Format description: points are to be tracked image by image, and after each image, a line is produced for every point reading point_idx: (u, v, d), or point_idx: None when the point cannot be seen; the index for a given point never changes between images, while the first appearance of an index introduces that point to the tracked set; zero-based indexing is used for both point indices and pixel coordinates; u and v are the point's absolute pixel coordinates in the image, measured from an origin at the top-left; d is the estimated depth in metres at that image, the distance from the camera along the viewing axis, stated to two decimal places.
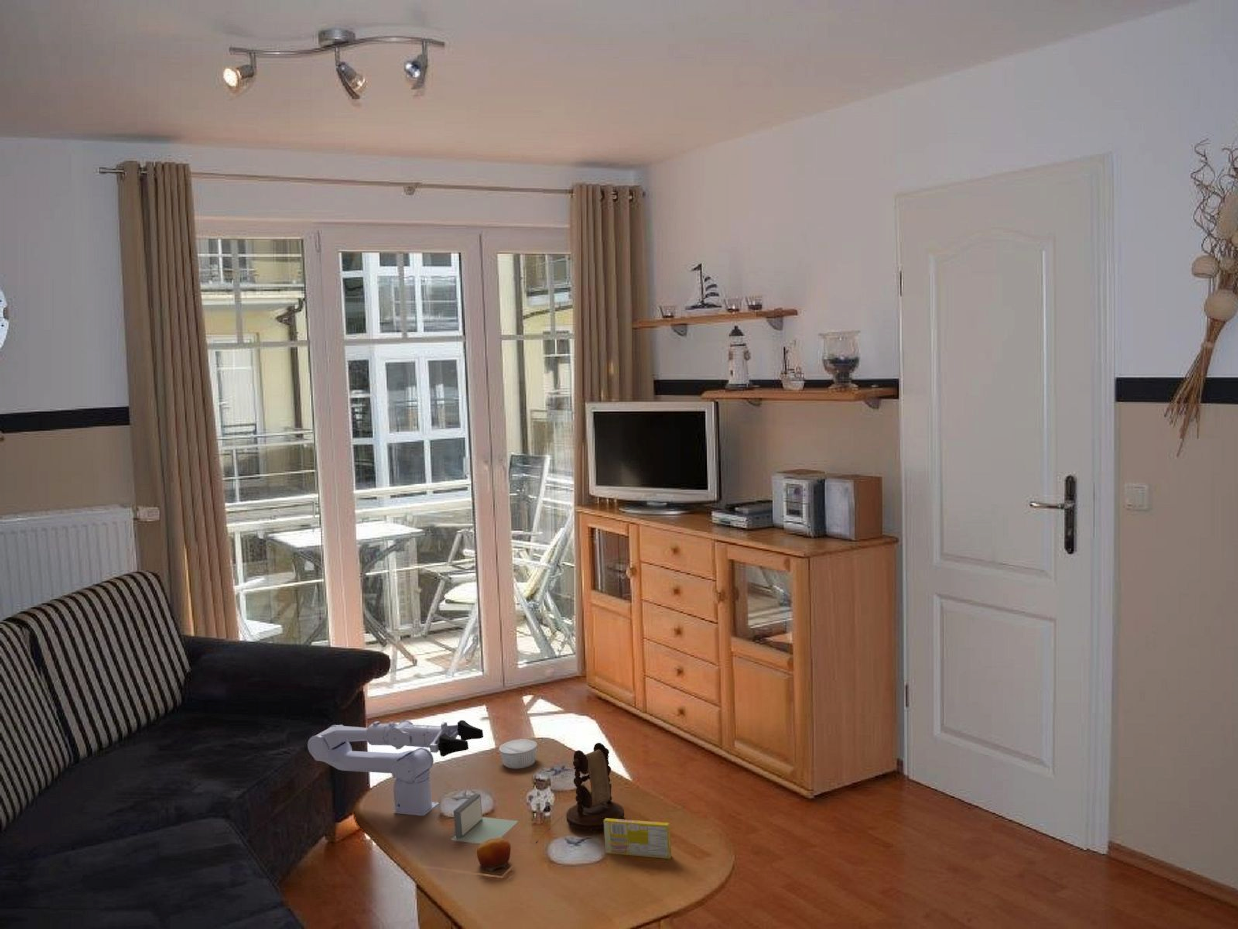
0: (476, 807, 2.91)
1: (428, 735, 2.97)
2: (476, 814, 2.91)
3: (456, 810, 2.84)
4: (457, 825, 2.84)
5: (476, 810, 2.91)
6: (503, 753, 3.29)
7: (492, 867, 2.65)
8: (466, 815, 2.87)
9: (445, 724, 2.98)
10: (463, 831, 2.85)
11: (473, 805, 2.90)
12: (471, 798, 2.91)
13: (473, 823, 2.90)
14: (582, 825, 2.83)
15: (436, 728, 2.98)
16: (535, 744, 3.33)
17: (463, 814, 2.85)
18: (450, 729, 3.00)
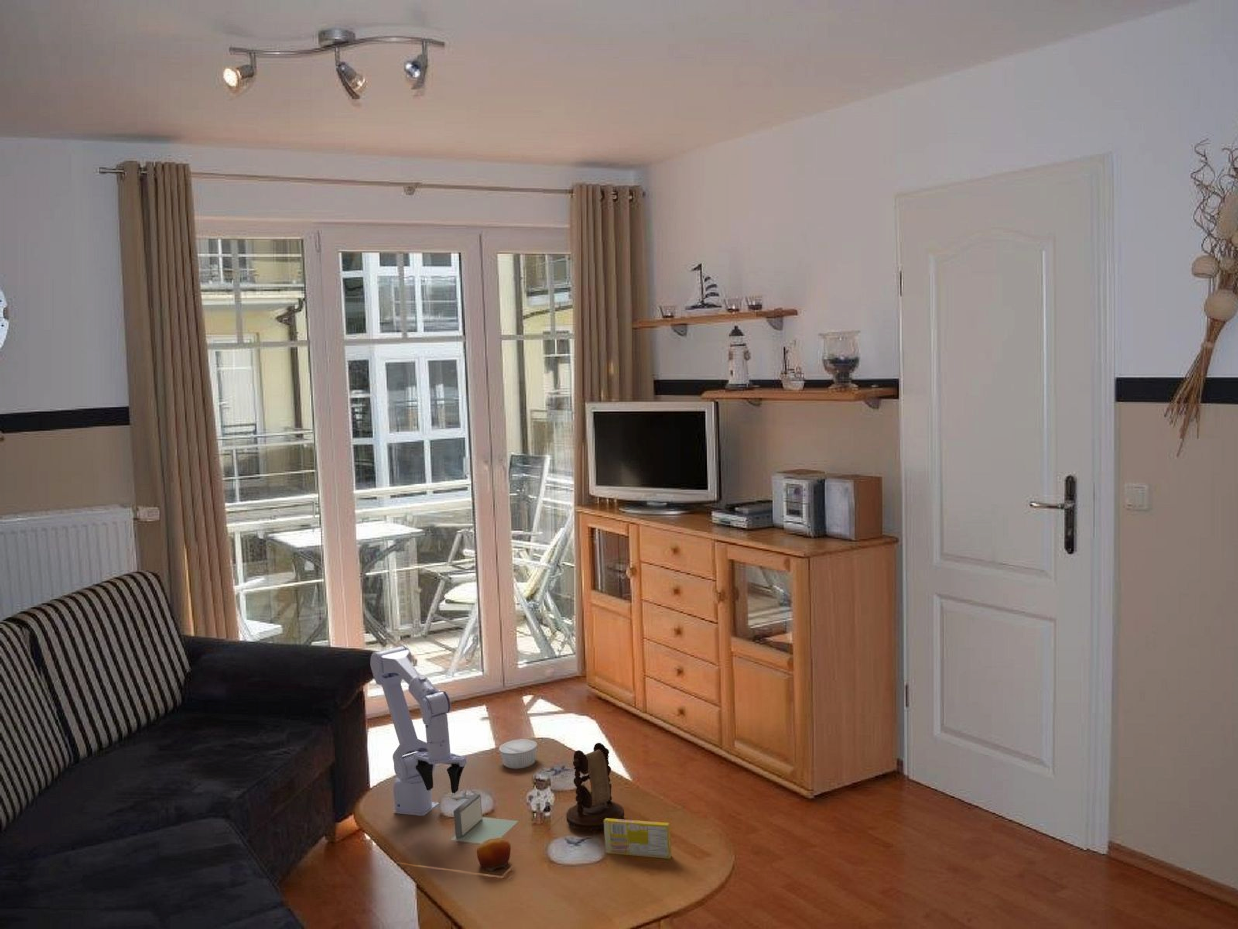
0: (476, 807, 2.91)
1: (427, 745, 2.89)
2: (476, 814, 2.91)
3: (456, 810, 2.84)
4: (457, 825, 2.84)
5: (476, 810, 2.91)
6: (503, 753, 3.29)
7: (492, 867, 2.65)
8: (466, 815, 2.87)
9: None
10: (463, 831, 2.85)
11: (473, 805, 2.90)
12: (471, 798, 2.91)
13: (473, 823, 2.90)
14: (582, 825, 2.83)
15: (430, 753, 2.88)
16: (535, 744, 3.33)
17: (463, 814, 2.85)
18: None
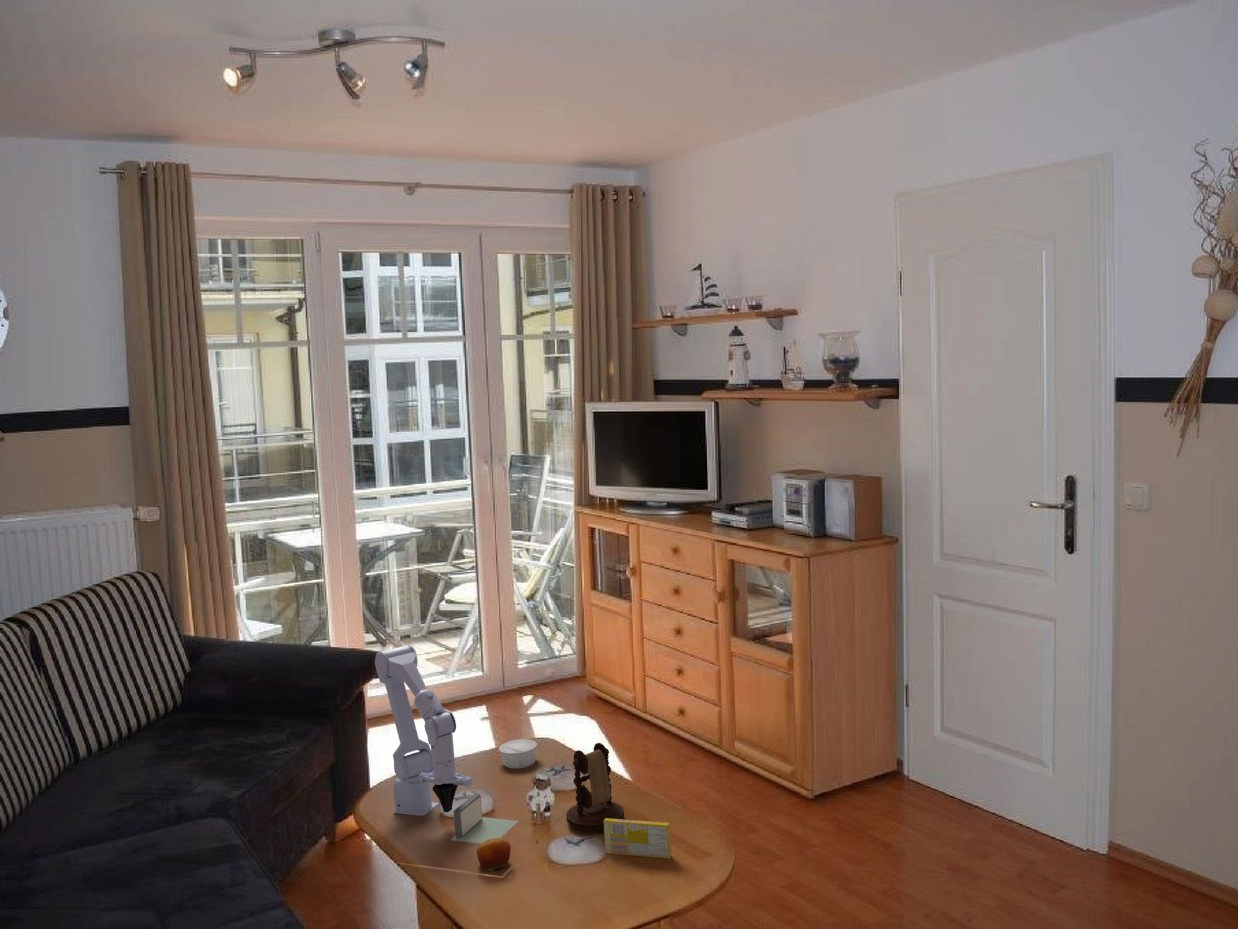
0: (476, 807, 2.91)
1: (432, 765, 2.90)
2: (476, 814, 2.91)
3: (456, 810, 2.84)
4: (457, 825, 2.84)
5: (476, 810, 2.91)
6: (503, 753, 3.29)
7: (492, 867, 2.65)
8: (466, 815, 2.87)
9: None
10: (463, 831, 2.85)
11: (473, 805, 2.90)
12: (471, 798, 2.91)
13: (473, 823, 2.90)
14: (582, 825, 2.83)
15: (435, 774, 2.88)
16: (535, 744, 3.33)
17: (463, 814, 2.85)
18: None
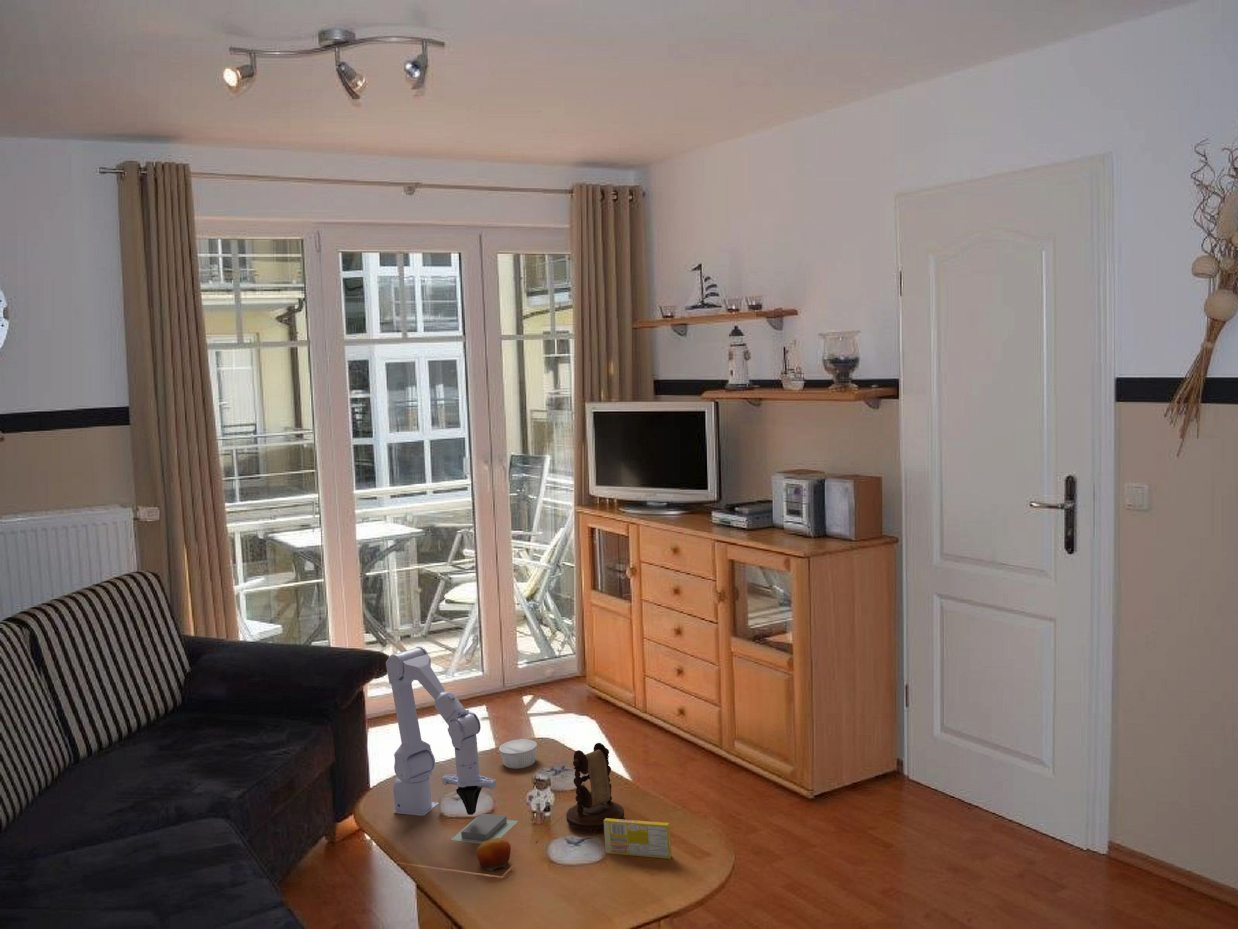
0: None
1: (456, 767, 2.87)
2: None
3: (487, 836, 2.82)
4: (473, 835, 2.83)
5: None
6: (503, 753, 3.29)
7: (492, 867, 2.65)
8: None
9: None
10: None
11: None
12: (501, 824, 2.89)
13: None
14: (582, 825, 2.83)
15: (459, 776, 2.85)
16: (535, 744, 3.33)
17: None
18: None
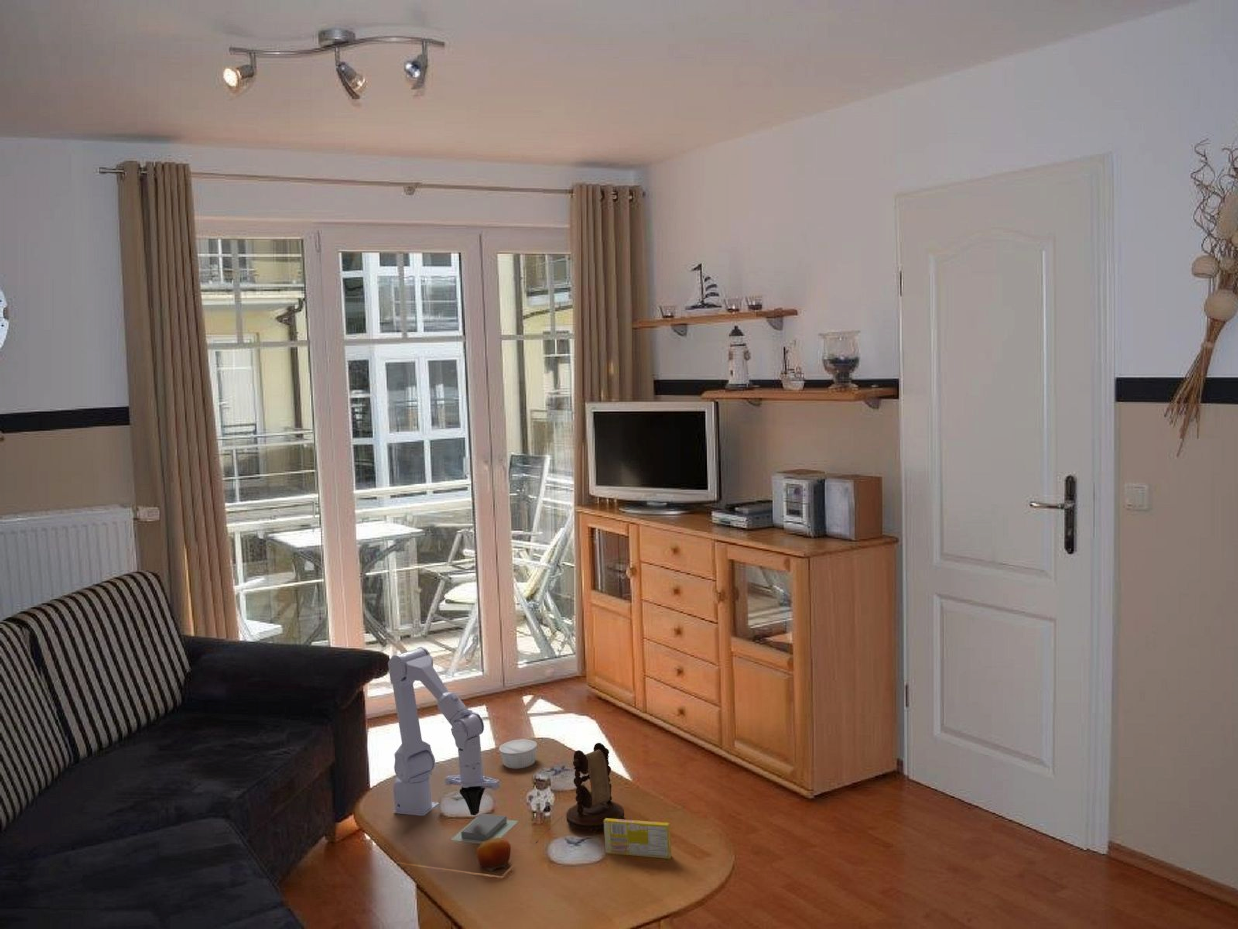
0: None
1: None
2: None
3: (487, 836, 2.82)
4: (473, 835, 2.83)
5: None
6: (503, 753, 3.29)
7: (492, 867, 2.65)
8: None
9: None
10: None
11: None
12: (501, 824, 2.89)
13: None
14: (582, 825, 2.83)
15: (463, 776, 2.85)
16: (535, 744, 3.33)
17: None
18: None
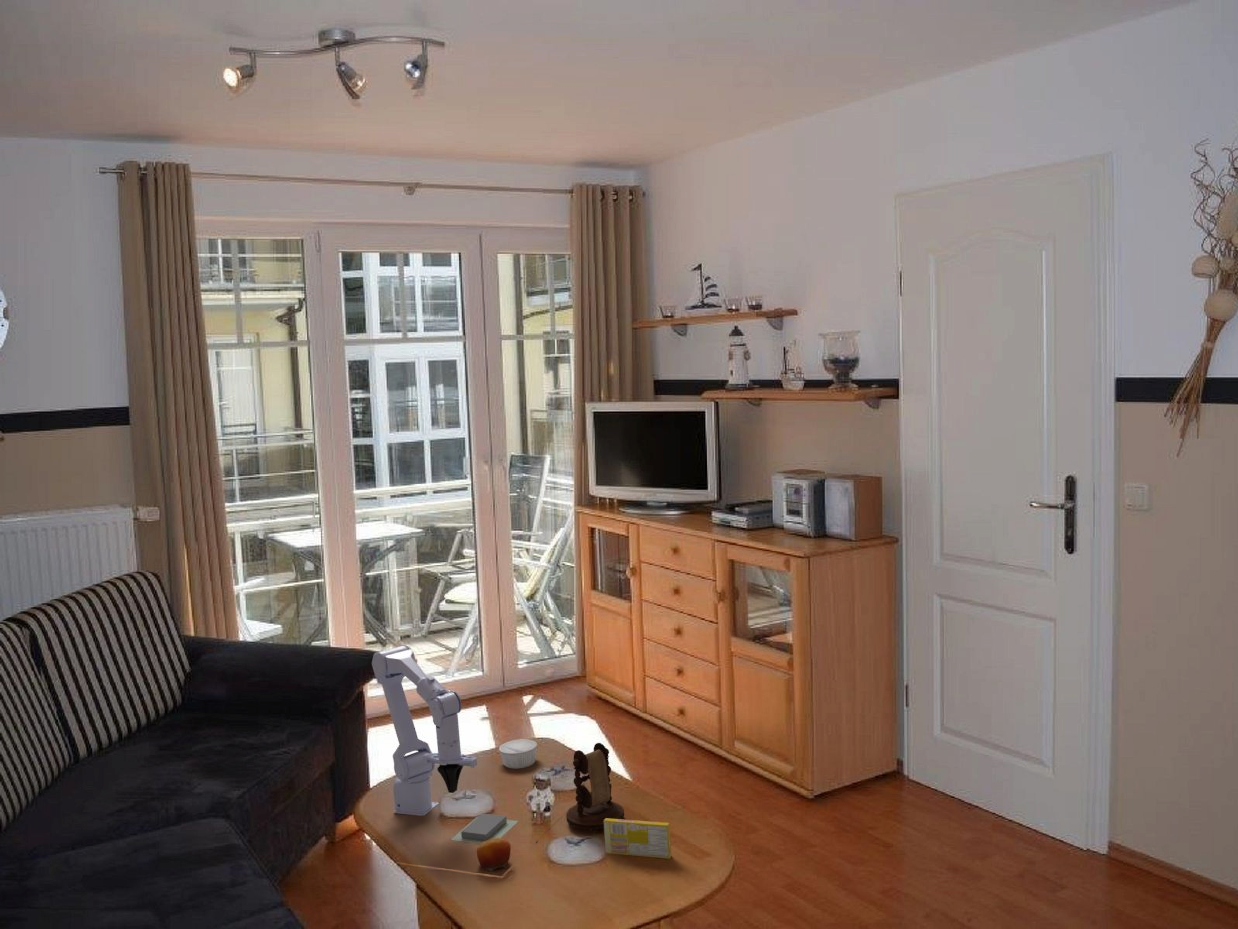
0: None
1: (437, 745, 2.89)
2: None
3: (487, 836, 2.82)
4: (473, 835, 2.83)
5: None
6: (503, 753, 3.29)
7: (492, 867, 2.65)
8: None
9: None
10: None
11: None
12: (501, 824, 2.89)
13: None
14: (582, 825, 2.83)
15: (440, 754, 2.87)
16: (535, 744, 3.33)
17: None
18: None
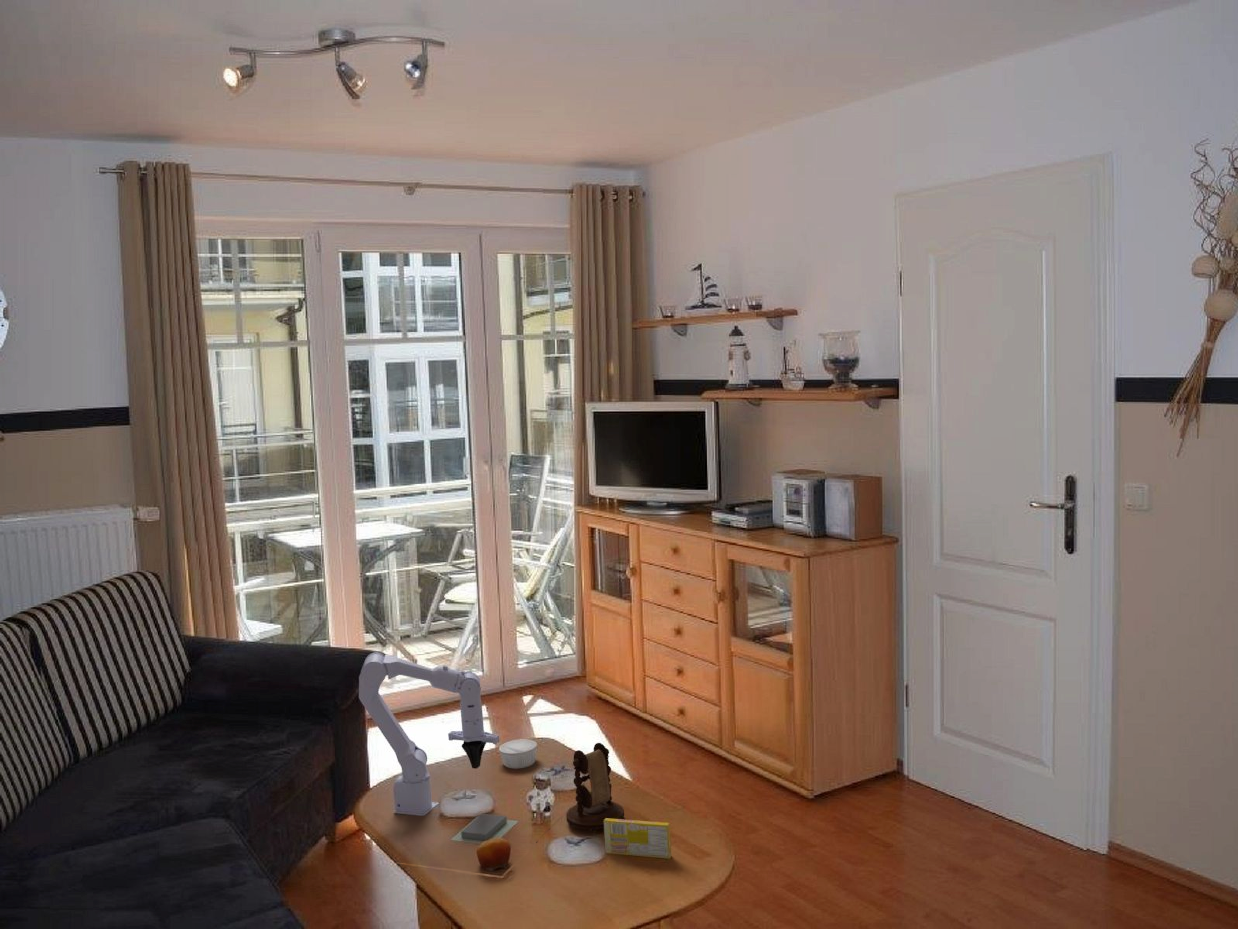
0: None
1: None
2: None
3: (487, 836, 2.82)
4: (473, 835, 2.83)
5: None
6: (503, 753, 3.29)
7: (492, 867, 2.65)
8: None
9: None
10: None
11: None
12: (501, 824, 2.89)
13: None
14: (582, 825, 2.83)
15: (465, 732, 3.02)
16: (535, 744, 3.33)
17: None
18: None
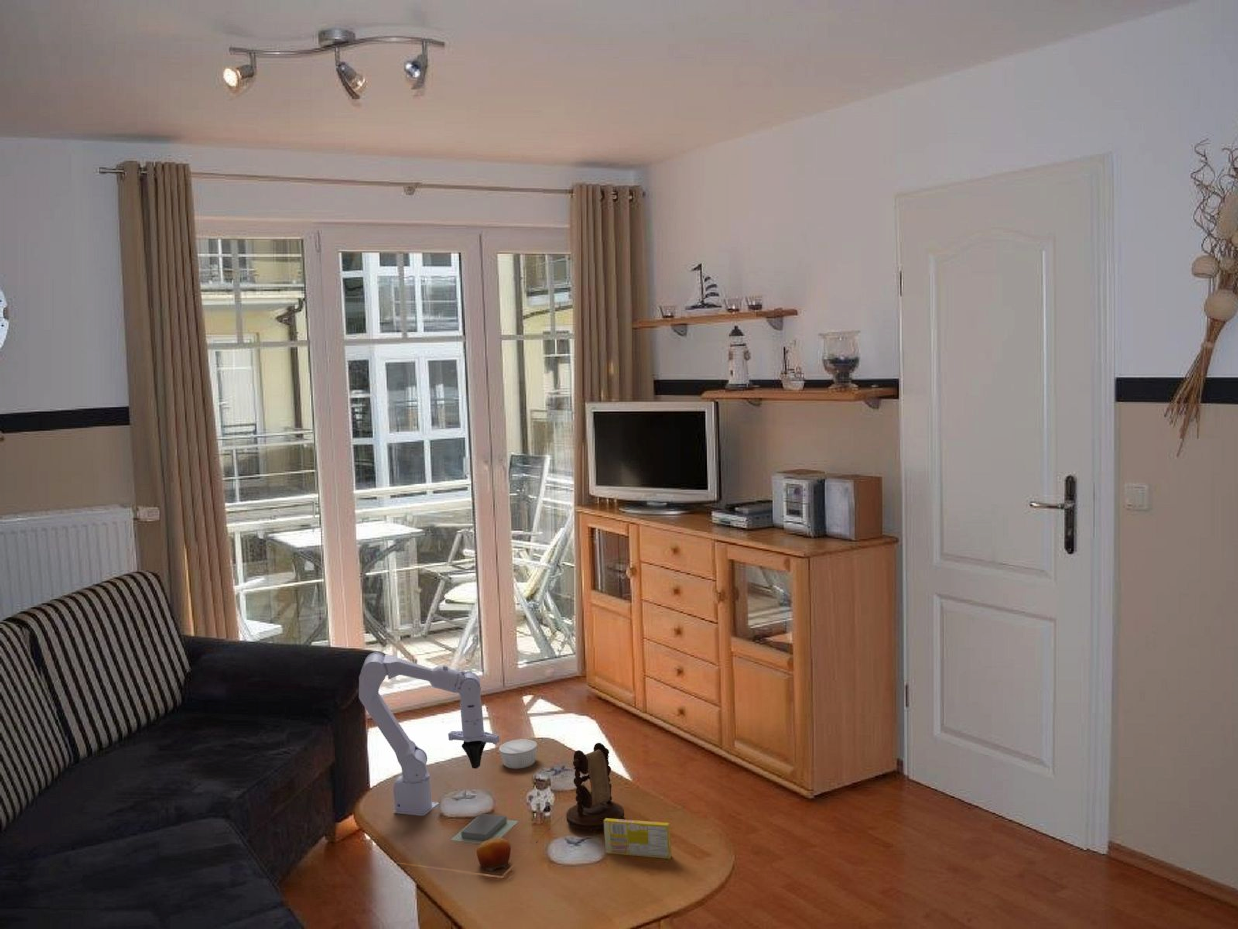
0: None
1: None
2: None
3: (487, 836, 2.82)
4: (473, 835, 2.83)
5: None
6: (503, 753, 3.29)
7: (492, 867, 2.65)
8: None
9: None
10: None
11: None
12: (501, 824, 2.89)
13: None
14: (582, 825, 2.83)
15: (465, 732, 3.02)
16: (535, 744, 3.33)
17: None
18: None
